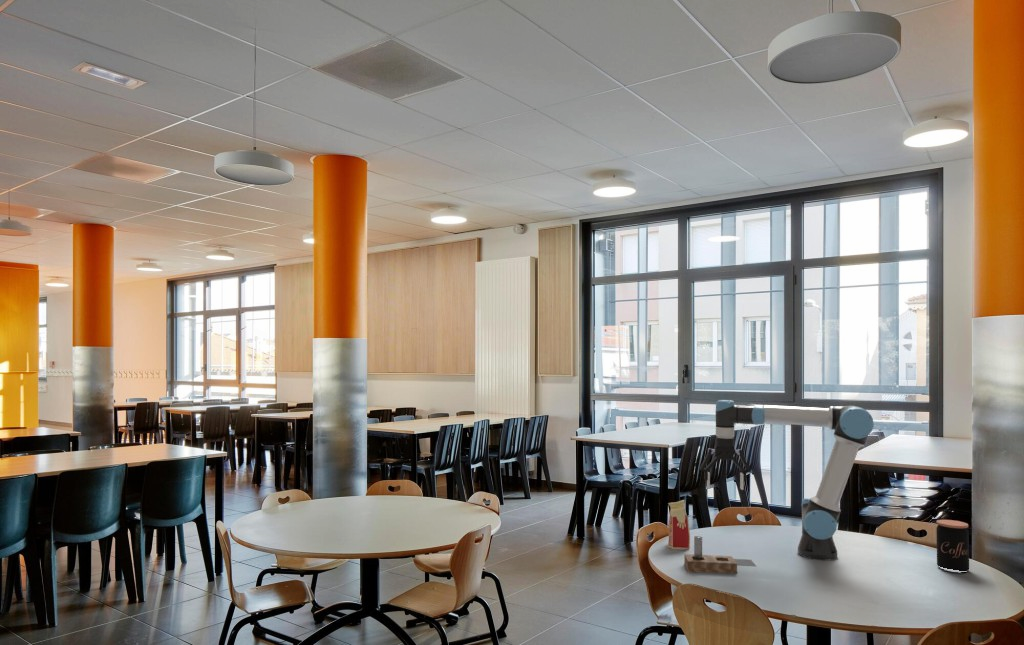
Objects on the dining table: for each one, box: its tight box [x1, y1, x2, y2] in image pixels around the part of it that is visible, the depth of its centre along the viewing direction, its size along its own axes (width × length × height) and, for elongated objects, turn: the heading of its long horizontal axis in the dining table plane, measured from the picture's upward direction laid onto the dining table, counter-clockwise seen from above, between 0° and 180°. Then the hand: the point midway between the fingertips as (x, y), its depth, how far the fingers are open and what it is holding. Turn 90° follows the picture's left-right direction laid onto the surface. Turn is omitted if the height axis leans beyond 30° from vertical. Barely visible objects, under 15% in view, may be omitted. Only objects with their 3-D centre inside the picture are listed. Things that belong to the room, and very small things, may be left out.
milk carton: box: [667, 499, 691, 551], centre depth 298 cm, size 9×9×20 cm
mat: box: [733, 558, 757, 567], centre depth 274 cm, size 9×9×1 cm
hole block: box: [683, 553, 738, 574], centre depth 266 cm, size 18×10×4 cm, turn 84°
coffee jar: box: [935, 519, 970, 572], centre depth 271 cm, size 11×11×18 cm
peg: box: [693, 535, 703, 560], centre depth 266 cm, size 3×3×12 cm
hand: (725, 488), depth 289 cm, fingers open, 13 cm apart
